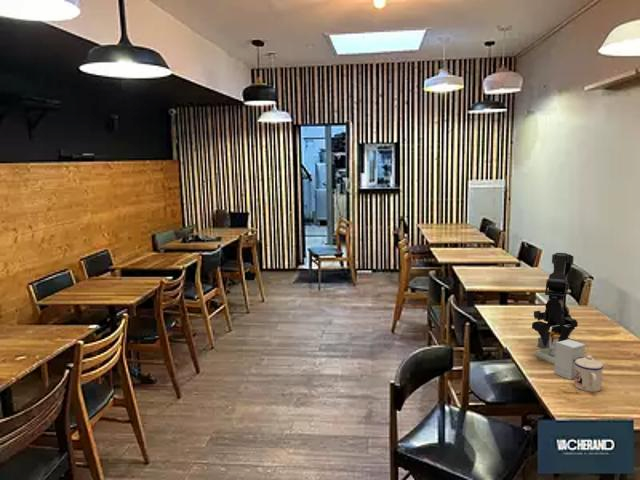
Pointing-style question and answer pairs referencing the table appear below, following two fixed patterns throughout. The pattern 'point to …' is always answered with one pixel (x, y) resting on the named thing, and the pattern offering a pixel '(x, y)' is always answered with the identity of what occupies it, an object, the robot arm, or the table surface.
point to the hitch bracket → (540, 343)
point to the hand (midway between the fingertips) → (553, 344)
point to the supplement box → (567, 357)
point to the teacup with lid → (588, 374)
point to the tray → (544, 355)
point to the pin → (553, 343)
